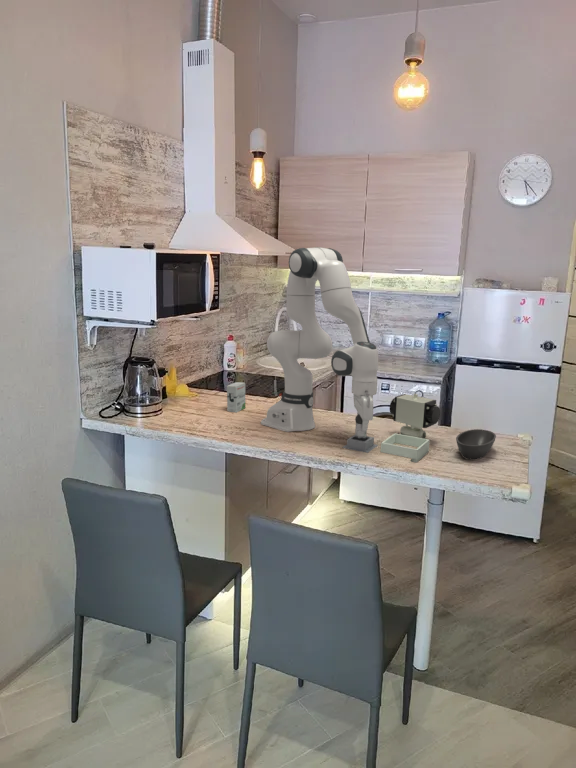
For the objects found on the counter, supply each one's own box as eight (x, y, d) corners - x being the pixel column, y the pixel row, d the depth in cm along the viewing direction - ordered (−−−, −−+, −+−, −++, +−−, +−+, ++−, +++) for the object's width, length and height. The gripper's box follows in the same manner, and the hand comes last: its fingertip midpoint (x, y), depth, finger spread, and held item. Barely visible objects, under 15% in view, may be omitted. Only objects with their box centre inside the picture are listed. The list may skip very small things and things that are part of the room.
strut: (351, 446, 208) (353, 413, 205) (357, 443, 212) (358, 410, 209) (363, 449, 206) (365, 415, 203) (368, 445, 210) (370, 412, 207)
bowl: (500, 449, 213) (502, 433, 211) (481, 466, 195) (483, 448, 194) (467, 442, 219) (469, 426, 218) (447, 458, 202) (448, 441, 200)
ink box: (236, 406, 263) (236, 381, 260) (246, 408, 261) (246, 382, 258) (226, 411, 255) (226, 385, 253) (236, 412, 253) (236, 386, 251)
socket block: (341, 450, 207) (342, 439, 206) (353, 443, 216) (353, 432, 215) (367, 455, 202) (368, 444, 202) (378, 448, 211) (379, 437, 210)
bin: (380, 455, 204) (381, 442, 203) (393, 444, 215) (394, 433, 214) (416, 462, 197) (417, 449, 196) (428, 451, 208) (429, 439, 207)
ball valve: (440, 441, 220) (443, 396, 216) (429, 446, 214) (432, 400, 210) (398, 431, 231) (401, 388, 227) (387, 435, 225) (390, 391, 221)
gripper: (378, 394, 194) (376, 434, 197) (368, 383, 214) (366, 419, 217) (360, 394, 194) (358, 434, 196) (351, 382, 214) (349, 419, 216)
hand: (362, 426), depth 207 cm, fingers open, 8 cm apart
